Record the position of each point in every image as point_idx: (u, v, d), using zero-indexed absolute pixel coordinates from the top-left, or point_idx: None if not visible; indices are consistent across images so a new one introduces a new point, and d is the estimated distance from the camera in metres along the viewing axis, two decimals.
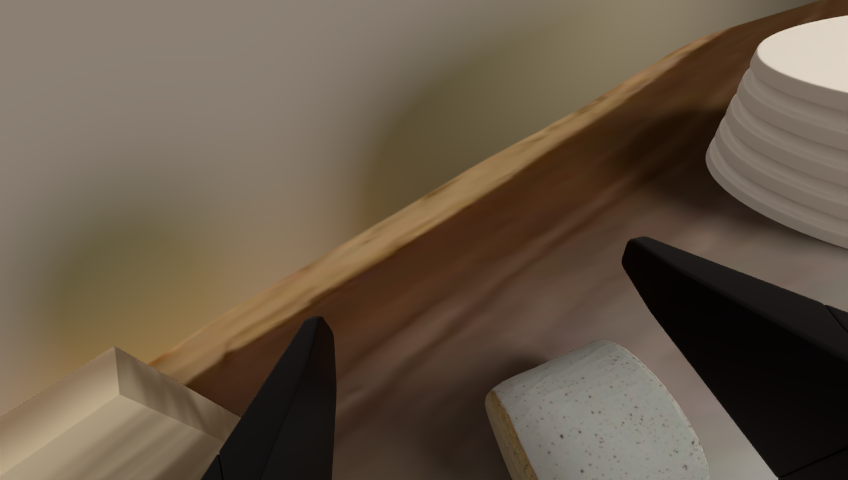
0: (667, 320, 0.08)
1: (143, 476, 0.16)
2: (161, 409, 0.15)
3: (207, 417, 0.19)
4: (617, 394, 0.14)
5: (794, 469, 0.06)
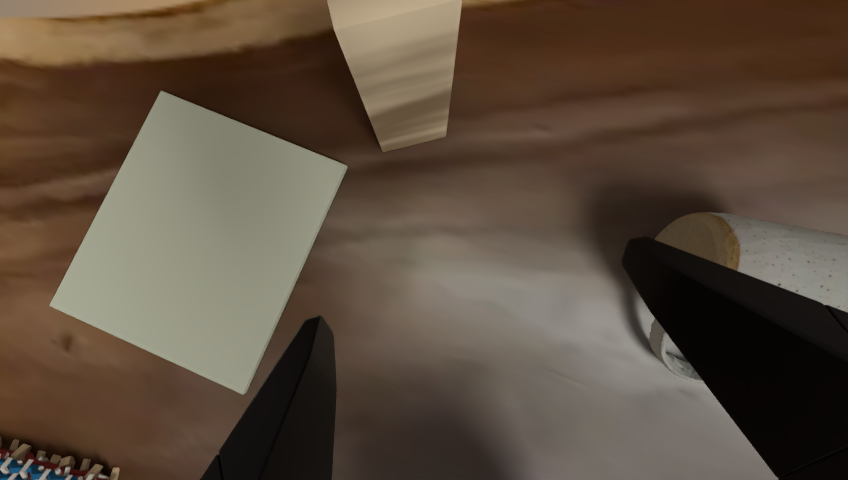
0: (667, 320, 0.08)
1: (401, 97, 0.17)
2: (454, 41, 0.14)
3: None
4: None
5: (795, 470, 0.06)
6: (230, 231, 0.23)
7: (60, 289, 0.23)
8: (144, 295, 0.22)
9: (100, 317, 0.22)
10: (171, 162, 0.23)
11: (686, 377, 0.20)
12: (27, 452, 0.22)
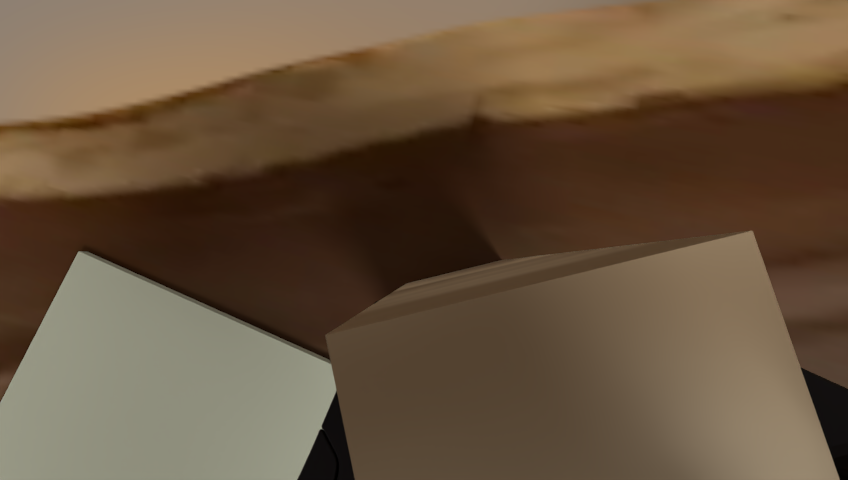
0: None
1: None
2: None
3: None
4: None
5: None
6: None
7: None
8: None
9: None
10: (91, 371, 0.15)
11: None
12: None
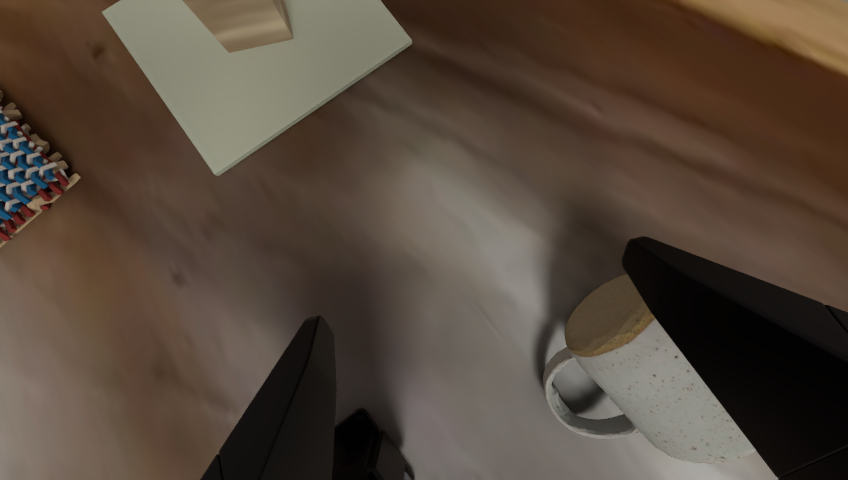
0: (667, 320, 0.08)
1: None
2: None
3: None
4: None
5: (795, 469, 0.06)
6: None
7: (117, 4, 0.24)
8: (182, 48, 0.23)
9: (136, 45, 0.23)
10: None
11: (556, 414, 0.20)
12: (16, 118, 0.23)
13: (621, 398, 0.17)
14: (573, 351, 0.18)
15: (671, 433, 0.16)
